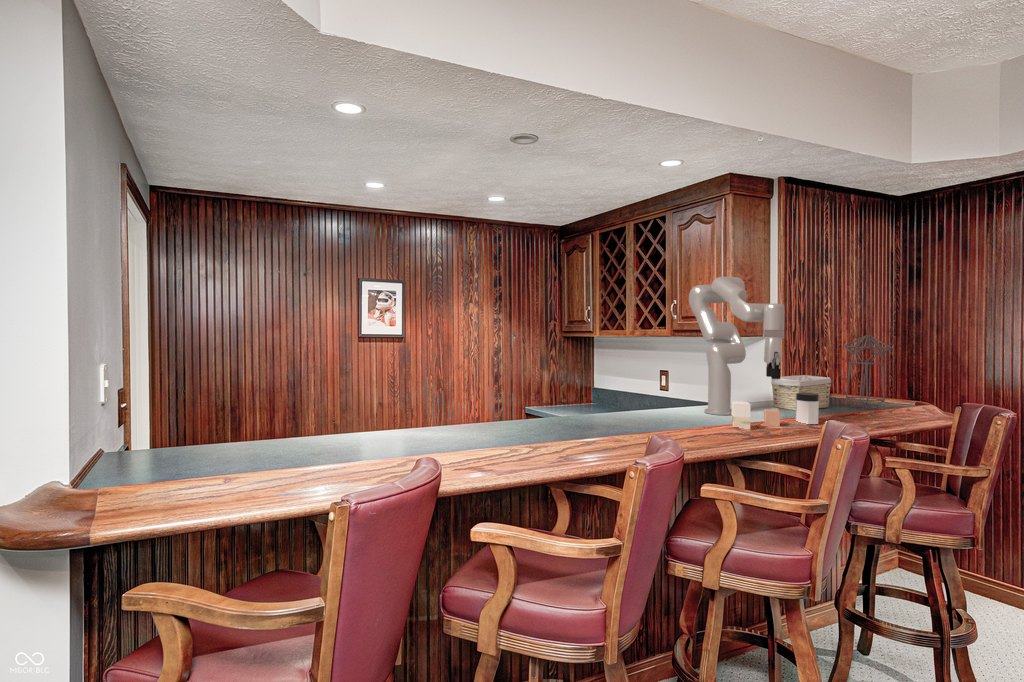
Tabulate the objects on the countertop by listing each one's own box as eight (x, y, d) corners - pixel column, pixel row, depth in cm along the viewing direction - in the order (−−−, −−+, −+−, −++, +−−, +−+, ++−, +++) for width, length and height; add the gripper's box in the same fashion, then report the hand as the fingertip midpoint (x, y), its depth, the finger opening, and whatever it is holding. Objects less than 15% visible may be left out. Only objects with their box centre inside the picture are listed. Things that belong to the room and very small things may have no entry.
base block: (731, 426, 227) (731, 414, 227) (747, 427, 225) (747, 414, 225) (733, 429, 221) (733, 416, 221) (750, 430, 220) (750, 417, 219)
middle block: (731, 414, 227) (731, 401, 226) (747, 414, 225) (748, 402, 225) (733, 416, 221) (733, 403, 221) (750, 417, 219) (750, 404, 219)
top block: (763, 424, 233) (763, 409, 233) (777, 424, 232) (777, 409, 232) (766, 426, 228) (766, 411, 228) (779, 426, 227) (780, 411, 227)
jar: (822, 423, 234) (823, 394, 234) (813, 425, 229) (814, 395, 229) (800, 420, 241) (800, 391, 241) (790, 422, 236) (791, 393, 236)
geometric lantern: (838, 406, 281) (841, 334, 280) (866, 406, 284) (869, 335, 283) (863, 411, 265) (866, 335, 265) (893, 411, 268) (896, 335, 267)
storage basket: (798, 411, 264) (799, 379, 264) (768, 406, 279) (769, 376, 278) (832, 408, 275) (833, 377, 274) (802, 403, 289) (802, 374, 289)
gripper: (759, 334, 238) (759, 375, 238) (767, 335, 221) (767, 379, 221) (779, 334, 236) (778, 376, 236) (789, 335, 219) (788, 380, 220)
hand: (773, 377), depth 229 cm, fingers open, 9 cm apart
